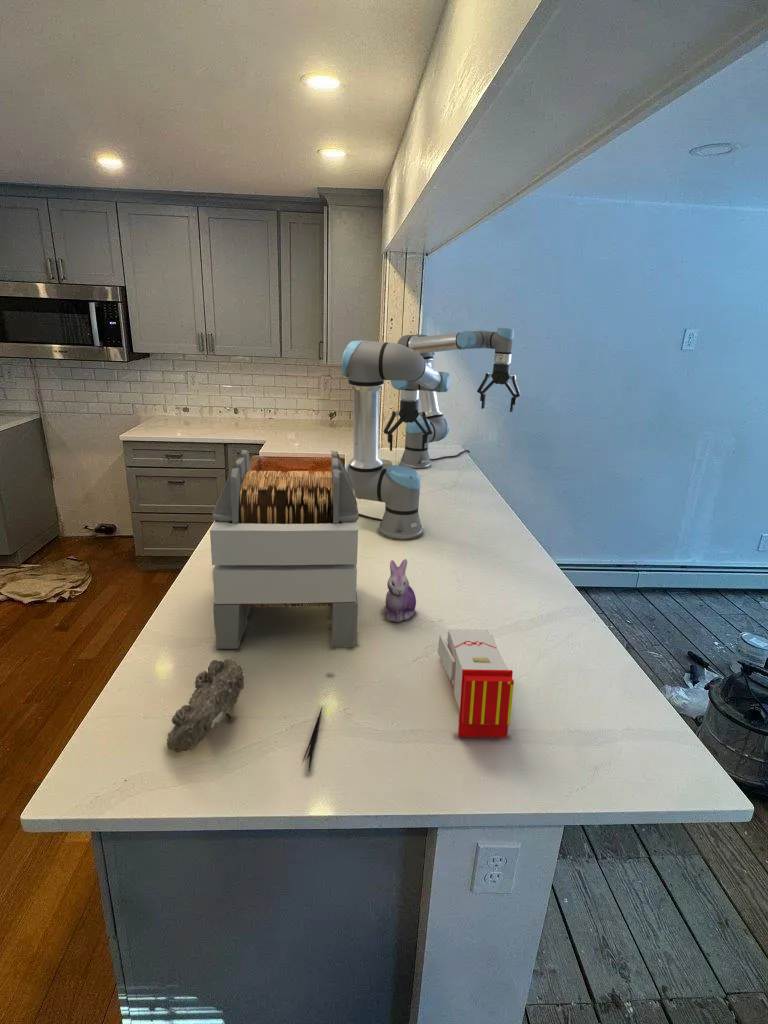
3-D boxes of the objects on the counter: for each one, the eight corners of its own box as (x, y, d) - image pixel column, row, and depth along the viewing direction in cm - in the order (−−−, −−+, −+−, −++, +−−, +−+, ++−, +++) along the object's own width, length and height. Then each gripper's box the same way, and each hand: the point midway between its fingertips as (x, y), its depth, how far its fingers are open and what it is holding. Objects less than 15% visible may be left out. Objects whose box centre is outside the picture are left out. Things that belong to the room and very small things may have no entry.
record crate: (234, 582, 160) (226, 440, 146) (350, 581, 163) (353, 443, 150) (213, 651, 128) (201, 478, 114) (357, 647, 132) (363, 480, 118)
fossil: (192, 660, 117) (244, 628, 112) (224, 691, 120) (276, 661, 115) (142, 746, 98) (202, 712, 93) (182, 779, 101) (242, 748, 96)
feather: (331, 679, 122) (336, 673, 122) (307, 777, 96) (313, 769, 95) (324, 675, 122) (329, 669, 121) (298, 772, 95) (304, 764, 95)
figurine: (392, 627, 141) (395, 572, 136) (374, 608, 149) (376, 556, 144) (425, 619, 145) (429, 566, 140) (405, 601, 154) (408, 550, 149)
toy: (488, 613, 130) (523, 677, 101) (484, 667, 133) (517, 744, 104) (435, 612, 130) (455, 676, 101) (432, 666, 133) (451, 743, 103)
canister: (387, 480, 261) (388, 459, 257) (392, 486, 253) (394, 463, 250) (370, 481, 258) (371, 459, 255) (375, 486, 251) (376, 464, 248)
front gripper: (438, 398, 236) (434, 448, 244) (378, 397, 234) (376, 447, 242) (441, 402, 229) (437, 452, 237) (379, 400, 227) (378, 452, 235)
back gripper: (473, 361, 260) (468, 408, 267) (527, 366, 250) (521, 414, 257) (478, 360, 266) (473, 406, 273) (531, 365, 256) (525, 411, 264)
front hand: (406, 450), depth 240 cm, fingers open, 13 cm apart
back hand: (496, 410), depth 265 cm, fingers open, 13 cm apart
